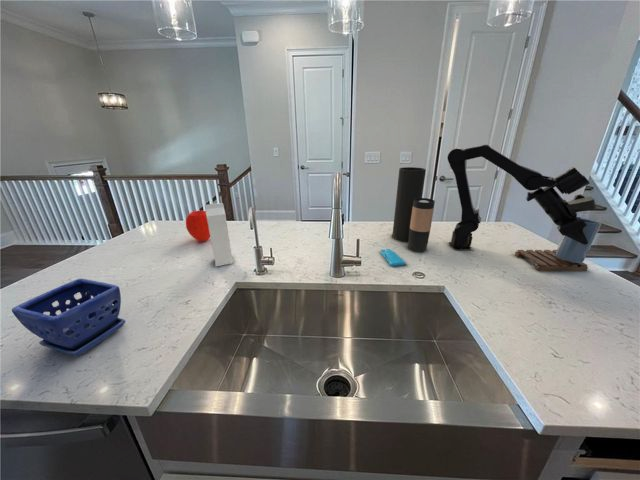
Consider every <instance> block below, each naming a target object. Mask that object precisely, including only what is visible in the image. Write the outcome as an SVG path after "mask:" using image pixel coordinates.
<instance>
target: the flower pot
mask: <svg viewBox="0 0 640 480" xmlns="http://www.w3.org/2000/svg"><path fill="white" fill-rule="evenodd" d="M77 294H80V296H81V297H79V298H76V297H75V295H77ZM67 301H69V303H67ZM55 302H57V303H58V304H57V305H56V306H54V305H53V304H54V303H55ZM121 304H122V295H121V289H120V287H119V286H118V285H116V284H112V283H109V282H103V281H99V280H94V279H93V280H92V279H87V278H77V279H75V280H72V281H70V282H67V283H65V284H62V285H60V286H58V287H55V288H53V289H51V290H49V291H46V292H43V293H42V294H39V295H38V296H37V295H36V296H35V297H33V298H31V299H28V300H26V301H24V302H22V303H20V304H18V305H15V306H14V307H12V309H11V312H12V314H13V316H15V318H16V319H17V320H18V321H19V323H20V324H21V325H22V326H23V327H24V328H25V329H26V330H28V331H29V332H30V333H31V334H33V335H35V336H36V337H38V338H40V339H41V340H40V341H39V343H38V344H39V345H41V346H43V347H46V348H49V349H52V350H54V351H57V352H60V353H63V354H67V355H69V356H75V357H80V356H82V355H83V354H85V353H86V352H88V351H89V350H91V349H92V348H94V347H95V346H97V345H98V344H100V343H101V342H103V341H104V340H105V339H108V338H109V337H110V336H111V335H113V334H115V333H116V332H117V331H119V330H120V329H121V328H122V327H123V326H124V324H125V323H126V319H124V318H122V317H121V318H120V317H119V315H120V312H121ZM58 311H60V313H59V314H57V312H58ZM47 313H49V314H47Z"/></svg>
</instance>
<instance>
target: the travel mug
mask: <svg viewBox="0 0 640 480" xmlns="http://www.w3.org/2000/svg"><path fill="white" fill-rule="evenodd" d="M435 203H436V201H435V200H434V199H431V198H427V197H422V198H416V199H414V202H413V208H412V215H411V222H410V230H409V240H408V242H407V249H408V250H409V251H411V252H414V253H424V252H426V251H427V248H428V245H429V239H430V233H431V229H432V221H433V215H434V209H435Z"/></svg>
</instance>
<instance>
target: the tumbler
mask: <svg viewBox="0 0 640 480" xmlns="http://www.w3.org/2000/svg"><path fill="white" fill-rule="evenodd" d="M581 219H582V220H583V221H584V222H585V223H586V224H587V226H586V227H584V229H583V232H584V234H585V237H586V239H587V241H588V244H586V245H584V244H582V243H579V242H577V241H575V240H573V239H571V238H569V237H567V236H563V235H562V238H561V240H560V242H559V244H558V247H557V249H556V250H557V251H556V254H555V256H556V257H558V258H560V259H563V260H566V261H570V262H574V263H584V261H585V260H586V257H587V255H588V253H589V251H590V250H591V246H592V245H593V243H594V241H595V239H596V236H597V234H598V232H599V231H600V228H601V226H602V223H601V222H599V221H597V220H592V219H587V218H581Z"/></svg>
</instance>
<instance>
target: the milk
mask: <svg viewBox="0 0 640 480" xmlns="http://www.w3.org/2000/svg"><path fill="white" fill-rule="evenodd" d="M204 209H205V210H204V211H206V216H207V221H208V227H209V232H210V244H211V248H212V253H213V258H214V263H215V264H214V265H215V267H221V266H225V265H232V264H234V260H233V253H232V247H231V242H230V241H231V240H230V236H229V229H228V222H227V215H226V210H225V205H224V203H223V202H219V203H207V204H205V205H204Z"/></svg>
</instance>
